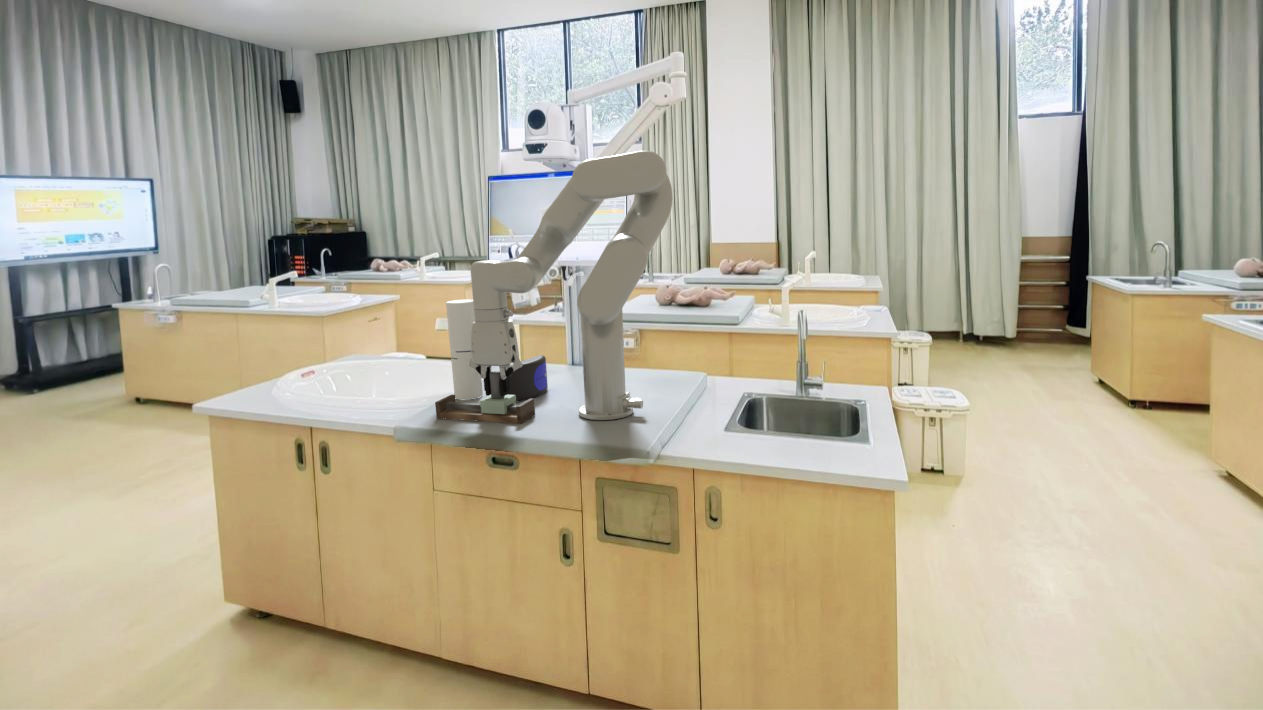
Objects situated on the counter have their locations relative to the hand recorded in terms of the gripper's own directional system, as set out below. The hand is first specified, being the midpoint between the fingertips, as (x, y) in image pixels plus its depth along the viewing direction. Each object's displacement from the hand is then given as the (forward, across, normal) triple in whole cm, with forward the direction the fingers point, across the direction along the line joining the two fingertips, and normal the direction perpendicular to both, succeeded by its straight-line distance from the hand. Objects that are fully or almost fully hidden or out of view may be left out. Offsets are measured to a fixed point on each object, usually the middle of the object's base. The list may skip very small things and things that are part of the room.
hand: (497, 393), depth 168 cm
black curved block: (+6, +2, -20) cm, 21 cm away
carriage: (+4, 0, 0) cm, 4 cm away
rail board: (+6, +4, 0) cm, 7 cm away
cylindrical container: (+6, +18, -16) cm, 25 cm away
